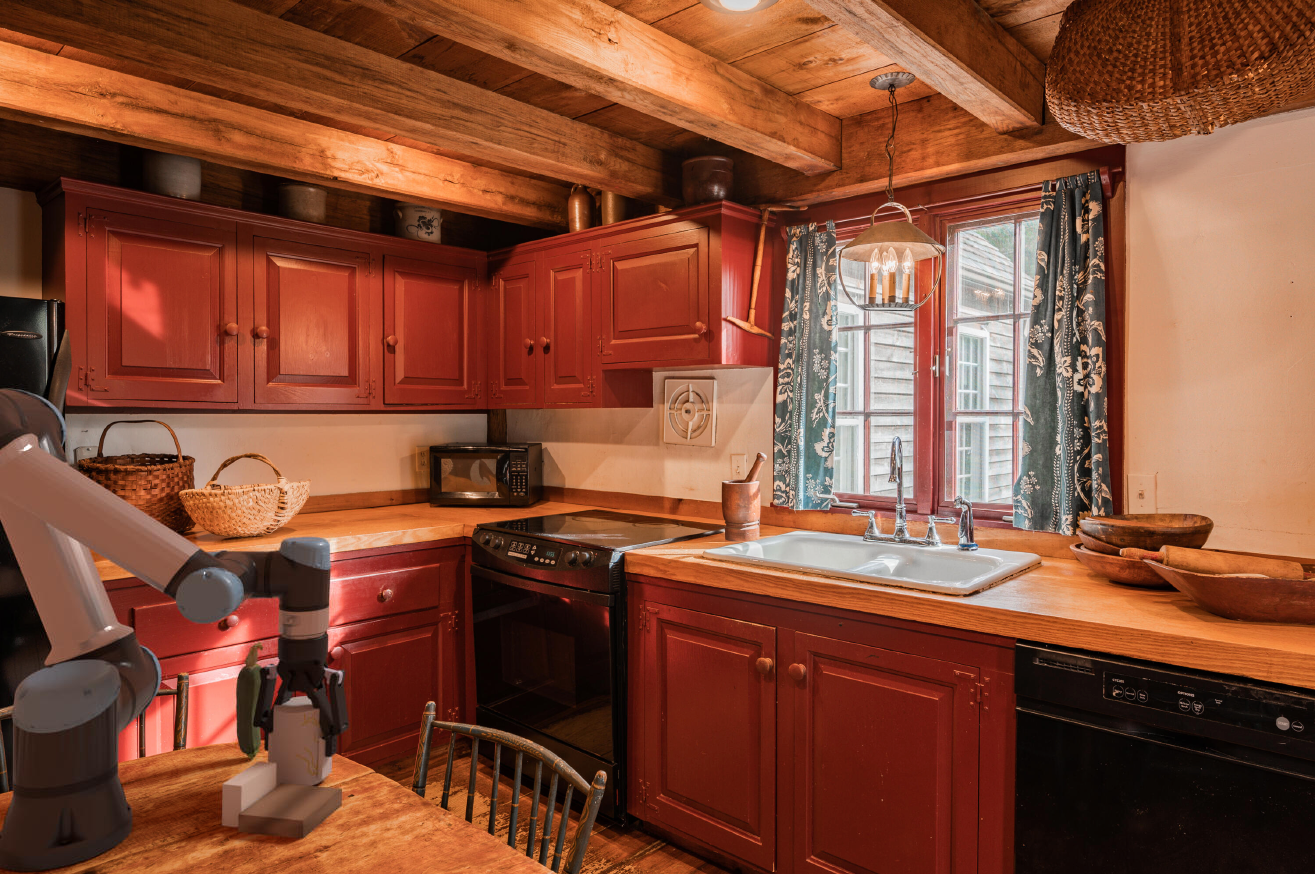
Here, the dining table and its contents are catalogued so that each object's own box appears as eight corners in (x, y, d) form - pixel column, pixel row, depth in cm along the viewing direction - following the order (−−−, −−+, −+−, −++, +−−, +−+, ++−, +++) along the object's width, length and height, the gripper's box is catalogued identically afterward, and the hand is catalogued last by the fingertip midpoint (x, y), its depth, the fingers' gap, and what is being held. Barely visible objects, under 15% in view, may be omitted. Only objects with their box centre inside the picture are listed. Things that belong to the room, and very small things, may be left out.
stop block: (222, 825, 115) (222, 783, 115) (258, 799, 123) (258, 761, 123) (241, 827, 114) (241, 785, 114) (275, 801, 122) (276, 762, 122)
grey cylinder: (305, 791, 125) (308, 715, 125) (260, 785, 126) (262, 709, 126) (336, 770, 133) (338, 698, 133) (293, 764, 134) (295, 693, 134)
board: (238, 834, 113) (238, 813, 113) (281, 802, 123) (281, 782, 123) (303, 841, 112) (303, 820, 112) (341, 807, 121) (341, 788, 121)
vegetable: (230, 761, 136) (231, 645, 136) (244, 751, 140) (245, 638, 140) (255, 762, 136) (257, 645, 136) (268, 752, 140) (270, 639, 140)
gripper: (229, 634, 127) (225, 776, 127) (351, 643, 124) (347, 789, 124) (259, 623, 135) (256, 757, 135) (375, 632, 131) (371, 769, 132)
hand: (299, 772), depth 129 cm, fingers closed on grey cylinder, 8 cm apart
